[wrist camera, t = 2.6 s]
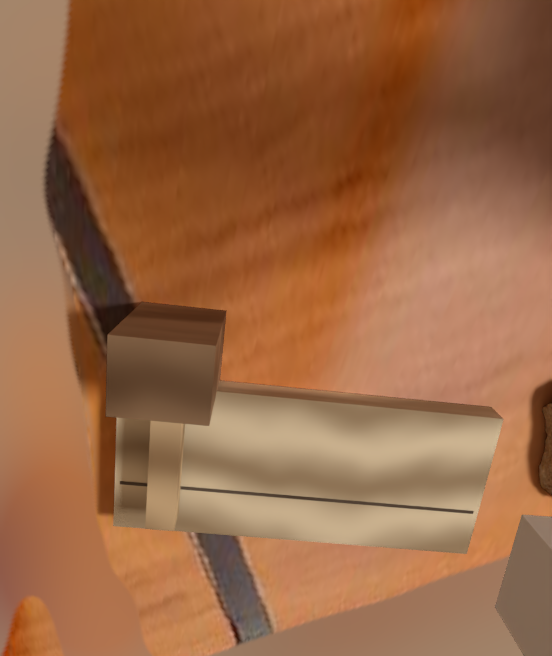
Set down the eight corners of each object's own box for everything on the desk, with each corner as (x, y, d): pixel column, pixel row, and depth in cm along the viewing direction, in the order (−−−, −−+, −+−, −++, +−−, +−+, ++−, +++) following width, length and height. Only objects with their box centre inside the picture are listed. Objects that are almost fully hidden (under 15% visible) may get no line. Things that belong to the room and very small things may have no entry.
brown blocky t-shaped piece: (142, 301, 34) (107, 334, 27) (226, 310, 35) (216, 345, 27) (134, 484, 38) (102, 558, 31) (209, 490, 39) (196, 565, 31)
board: (125, 371, 36) (117, 381, 34) (491, 407, 37) (503, 419, 35) (120, 509, 39) (113, 526, 37) (456, 536, 41) (466, 554, 39)
